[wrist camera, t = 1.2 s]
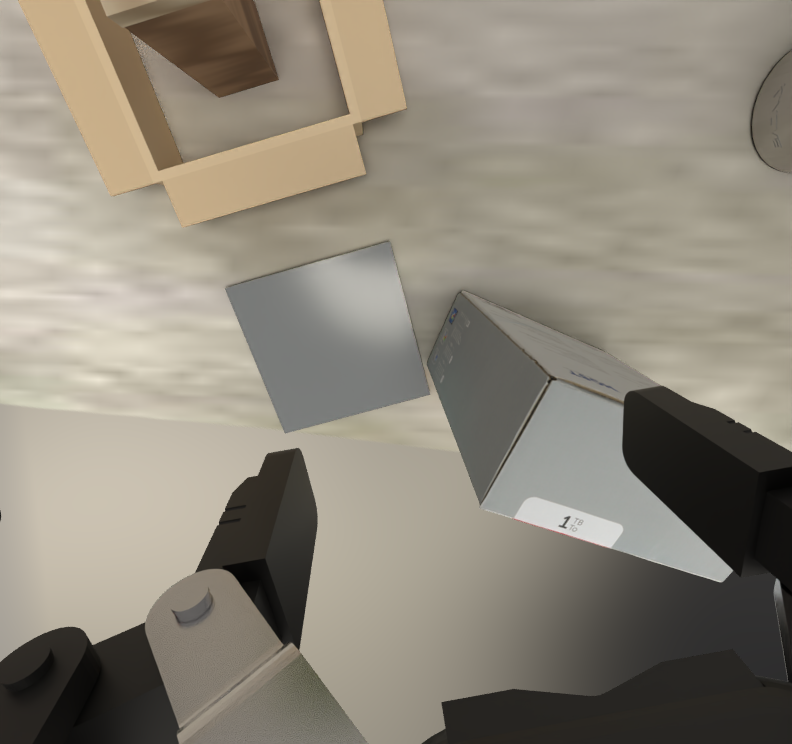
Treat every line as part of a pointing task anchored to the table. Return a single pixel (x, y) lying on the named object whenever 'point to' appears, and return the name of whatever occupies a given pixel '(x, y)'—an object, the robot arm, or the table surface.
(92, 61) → the carton
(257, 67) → the walnut box
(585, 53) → the table surface
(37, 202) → the table surface
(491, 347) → the hard drive box
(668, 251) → the table surface
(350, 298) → the coaster
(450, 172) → the table surface
